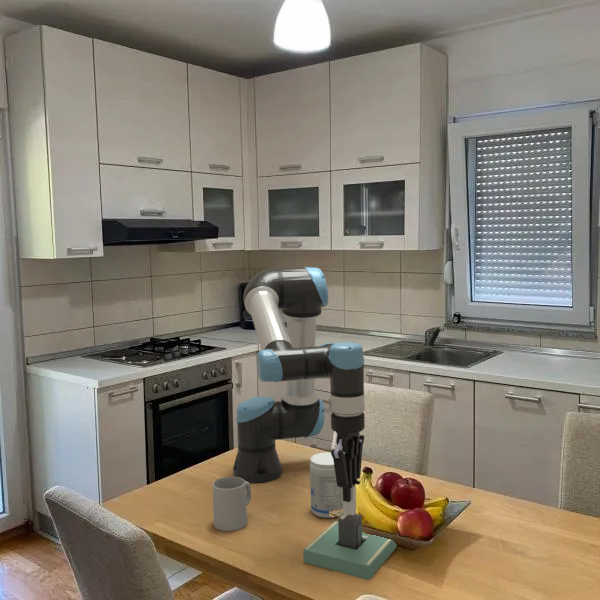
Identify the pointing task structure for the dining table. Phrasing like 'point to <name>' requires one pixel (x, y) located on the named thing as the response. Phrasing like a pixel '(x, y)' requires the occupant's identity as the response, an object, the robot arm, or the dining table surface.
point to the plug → (350, 531)
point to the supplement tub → (324, 485)
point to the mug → (230, 503)
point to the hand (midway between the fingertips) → (349, 512)
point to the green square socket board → (348, 553)
